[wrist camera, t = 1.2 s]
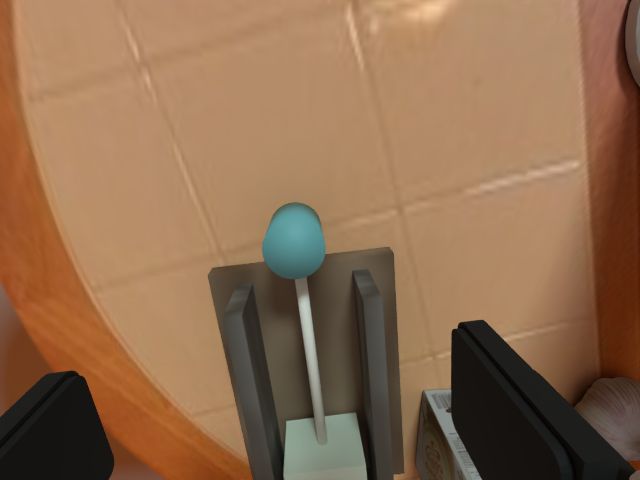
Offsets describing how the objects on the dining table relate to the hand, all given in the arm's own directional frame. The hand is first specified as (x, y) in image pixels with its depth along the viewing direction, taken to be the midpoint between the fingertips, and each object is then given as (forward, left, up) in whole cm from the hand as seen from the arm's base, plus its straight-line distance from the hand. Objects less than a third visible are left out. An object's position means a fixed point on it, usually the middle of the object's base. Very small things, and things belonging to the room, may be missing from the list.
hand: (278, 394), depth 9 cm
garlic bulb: (-26, +21, -19) cm, 39 cm away
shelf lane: (0, +14, -19) cm, 23 cm away
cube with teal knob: (0, +11, -17) cm, 20 cm away
